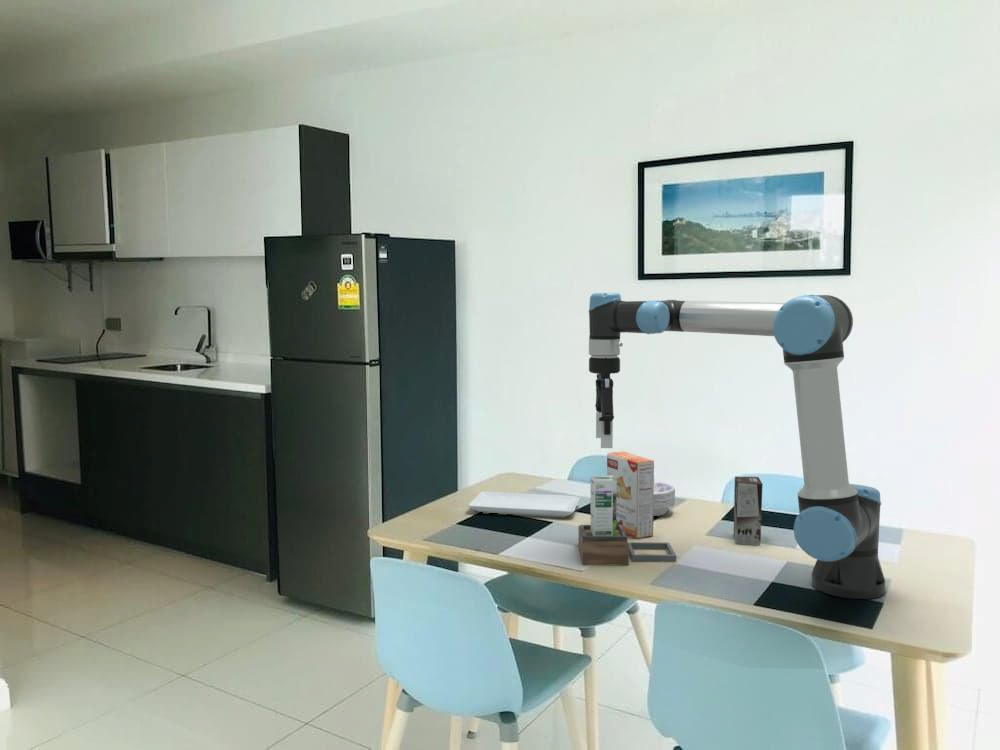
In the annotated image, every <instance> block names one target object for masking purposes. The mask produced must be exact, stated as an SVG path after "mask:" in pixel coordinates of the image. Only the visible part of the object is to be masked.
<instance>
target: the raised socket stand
mask: <svg viewBox="0 0 1000 750" xmlns="http://www.w3.org/2000/svg"><path fill="white" fill-rule="evenodd" d="M577 538H578V540H577V541H578V549H579V554H580V559H581V565H582V566H589V565H588V564H593V565H592V566H601V565H600V564H617V565H616V566H629V565H630V564H629V563H630V562H629V561H630V560H629V557H630V554H629V544H628V542H629V541H628V538H627V534H625V532H624V529H623V527H622V525H616V536H593V535H592V533H591V524H580V525H578V537H577ZM595 564H596V565H595ZM618 564H620V565H618ZM622 564H623V565H622Z"/></svg>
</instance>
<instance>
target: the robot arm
mask: <svg viewBox="0 0 1000 750" xmlns="http://www.w3.org/2000/svg"><path fill="white" fill-rule="evenodd" d="M588 307H589V308H588V317H589V318H588V319H589V321H588V323H589V324H588V325H589V329H588V330H589V335H588V338H589V339H588V354H589V355H590V357H589V358H588V371H589V372H590V373H592V374H596V379H595V391H596V394H595V405H594V406H595V410H596V413H595V423H596V424H595V427H596V429H595V438H596V439H600V449H613V448H614V447H613V446H614V445H613V440H614V439H613V437H614V436H613V434H614V433H613V432H614V431H613V430H614V429H613V427H614V423H613V422H614V419H615V416H614V400H613V399H614V397H613V396H614V395H613V394H614V390H613V388H614V380H613V378H611V374H619V373H620V372H621V359H620V357H618V356H620V355H621V348H620V347H623V344H624V343H623V342H621V333H623V334H624V333H628V334H629V333H630V334H631V333H632V334H647V335H651V334H652V335H655V334H662V333H664V332H681V333H684V332H685V333H704V334H705V333H706V334H723V335H724V334H725V335H743V336H744V335H745V336H761V337H762V336H763V337H774V339H775V341H776V343H777V344H778V345H779V346H780V348H782V355H783V362H784V363H783V364H784V365H785V366H786V367H787V368H789V369H790V370H791V371H792V376H793V378H792V379H793V388H794V396H795V405H796V407H795V408H796V416H797V424H798V435H799V444H800V445H799V446H800V455H801V456H800V457H801V465H802V474H803V475H802V476H803V484H804V485H803V487H802V488H801V489H799V491H798V492H797V501H798V512H799V514H798V515H797V516H796V518H795V521H794V523H793V534H794V535H793V536H794V538H795V541H796V543H797V545H798V546H799V547H800V549H801V550H802V551H804V552H805V553H806V554H807V555H808V556H809V557H811V558H813V559H815V560H816V561H815V564H814V567H813V569H812V571H811V579H810V581H811V582H810V583H811V585H812V587H813V588H814V589H816V590H818V591H820V592H822V593H825V594H827V595H831V596H834V597H839V598H844V599H852V600H869V599H876V598H880V597H882V596H884V595H885V594H886V579H885V575H884V571H883V569H882V566H881V563H880V558H879V539H880V517H881V506H882V502H881V493H880V491H879V490H878V489H877V488H876V487H872V486H868V485H862V484H856V483H855V484H854V483H850V482H849V473H848V472H849V471H848V464H847V463H848V462H847V453H846V443H845V442H846V441H845V434H844V421H843V413H842V402H841V393H840V385H839V384H840V383H839V375H838V374H839V373H838V366H839V365H840V364H841V362H843V360H844V359H845V353H844V351H845V350H844V342H845V341H846V340H847V339H848V338H849V337H850V334H851V333H852V330H853V327H854V326H853V325H854V318H853V313H852V311H851V309H850V307H849V306H848V305H847V303H846V302H844V301H843V300H842V299H840V298H838V296H837V297H836V296H834V295H829V294H828V295H827V294H804V295H801V296H797V297H793V298H791V299H789V300H788V301H786V302H757V301H756V302H755V301H754V302H753V301H752V302H751V301H742V302H741V301H715V300H714V301H709V300H707V301H706V300H677V299H666V300H631V301H630V300H629V301H625V300H622V296H621V294H620V293H619V292H594V293H592V294H591V295H590V296H589V306H588Z"/></svg>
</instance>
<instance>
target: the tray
mask: <svg viewBox="0 0 1000 750" xmlns="http://www.w3.org/2000/svg"><path fill="white" fill-rule="evenodd" d="M580 501H581V497H580V496H574V495H560V494H543V493H541V494H539V493H522V492H521V493H520V492H506V491H505V492H501V491H500V492H499V491H487V490H485V491H482V490H481V491H480V492H479V493H478V494H477V495H476V496H475V497H474V498H473V499H472V500H471V501H470V502H469V503H468V504H467V507H468V508H470V509H473V510H474V511H477V512H479V513H480V512H483V513H482V514H489V513H498V514H497V515H507V514H515V515H514V516H524V515H533V516H532V517H540V516H547V517H546V518H557V517H564V518H566V517H568V516H570V515H572V514H573V513H574V512H575V510H576V509H577V505H578V504H579V502H580Z"/></svg>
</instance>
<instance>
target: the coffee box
mask: <svg viewBox="0 0 1000 750" xmlns="http://www.w3.org/2000/svg"><path fill="white" fill-rule="evenodd" d="M733 491H734V496H733V497H734V499H733V537H734V541H735V544H736V545H752V546H761V536H762V509H763V507H762V506H763V482H762V480H761V479H760V477H759V476H734V490H733Z"/></svg>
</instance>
